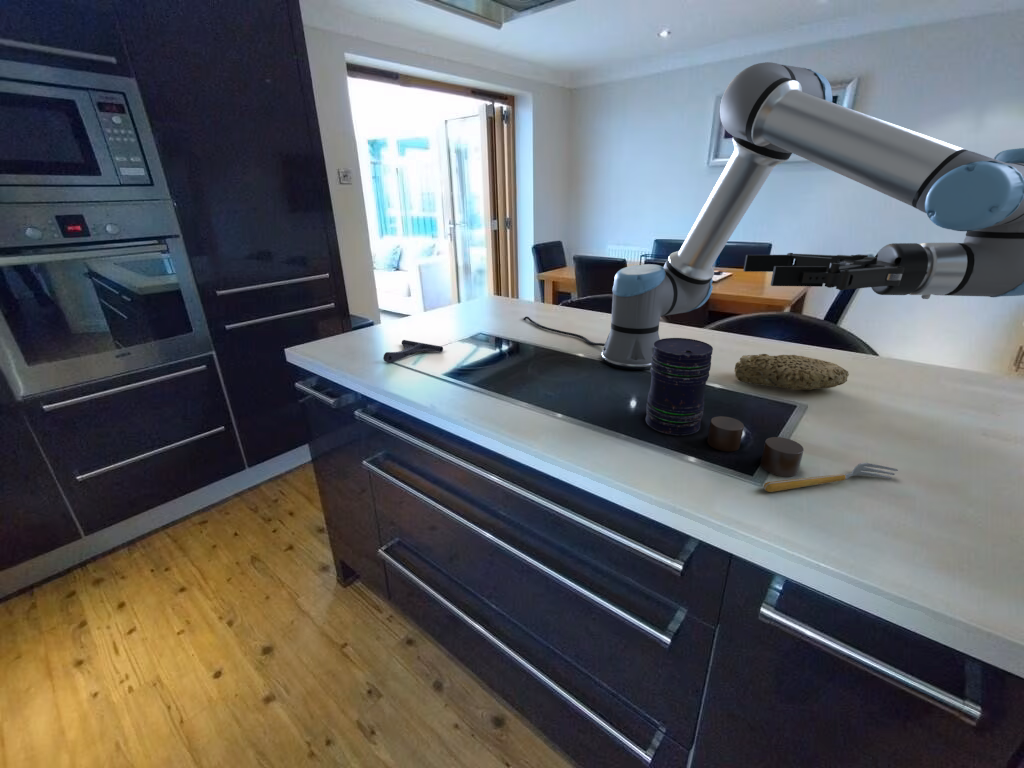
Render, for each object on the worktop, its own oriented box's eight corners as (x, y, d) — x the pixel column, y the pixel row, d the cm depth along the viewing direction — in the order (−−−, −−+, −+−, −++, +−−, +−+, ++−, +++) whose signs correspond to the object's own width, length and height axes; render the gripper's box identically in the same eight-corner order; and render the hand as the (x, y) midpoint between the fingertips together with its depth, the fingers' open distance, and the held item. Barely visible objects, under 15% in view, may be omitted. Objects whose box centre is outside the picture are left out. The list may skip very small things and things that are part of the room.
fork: (772, 487, 60) (899, 468, 63) (764, 477, 62) (888, 459, 64) (766, 499, 62) (890, 480, 64) (758, 489, 63) (880, 470, 66)
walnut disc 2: (754, 466, 68) (759, 443, 67) (770, 455, 71) (775, 433, 69) (788, 481, 64) (794, 457, 63) (803, 469, 67) (809, 446, 65)
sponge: (732, 391, 97) (845, 395, 84) (731, 356, 96) (846, 354, 83) (746, 383, 107) (849, 385, 94) (746, 351, 106) (850, 349, 93)
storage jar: (639, 410, 86) (646, 337, 81) (689, 410, 86) (700, 337, 80) (652, 435, 77) (662, 355, 72) (709, 435, 77) (723, 355, 71)
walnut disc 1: (701, 442, 75) (704, 421, 73) (717, 433, 78) (721, 413, 76) (729, 455, 71) (733, 433, 70) (745, 445, 74) (749, 424, 72)
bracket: (366, 359, 119) (365, 349, 118) (405, 344, 130) (404, 335, 129) (406, 368, 112) (404, 358, 111) (443, 351, 123) (442, 342, 122)
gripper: (965, 314, 55) (782, 311, 59) (860, 280, 78) (732, 279, 82) (989, 253, 53) (794, 253, 56) (873, 236, 75) (740, 237, 79)
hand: (757, 269), depth 69 cm, fingers open, 13 cm apart
